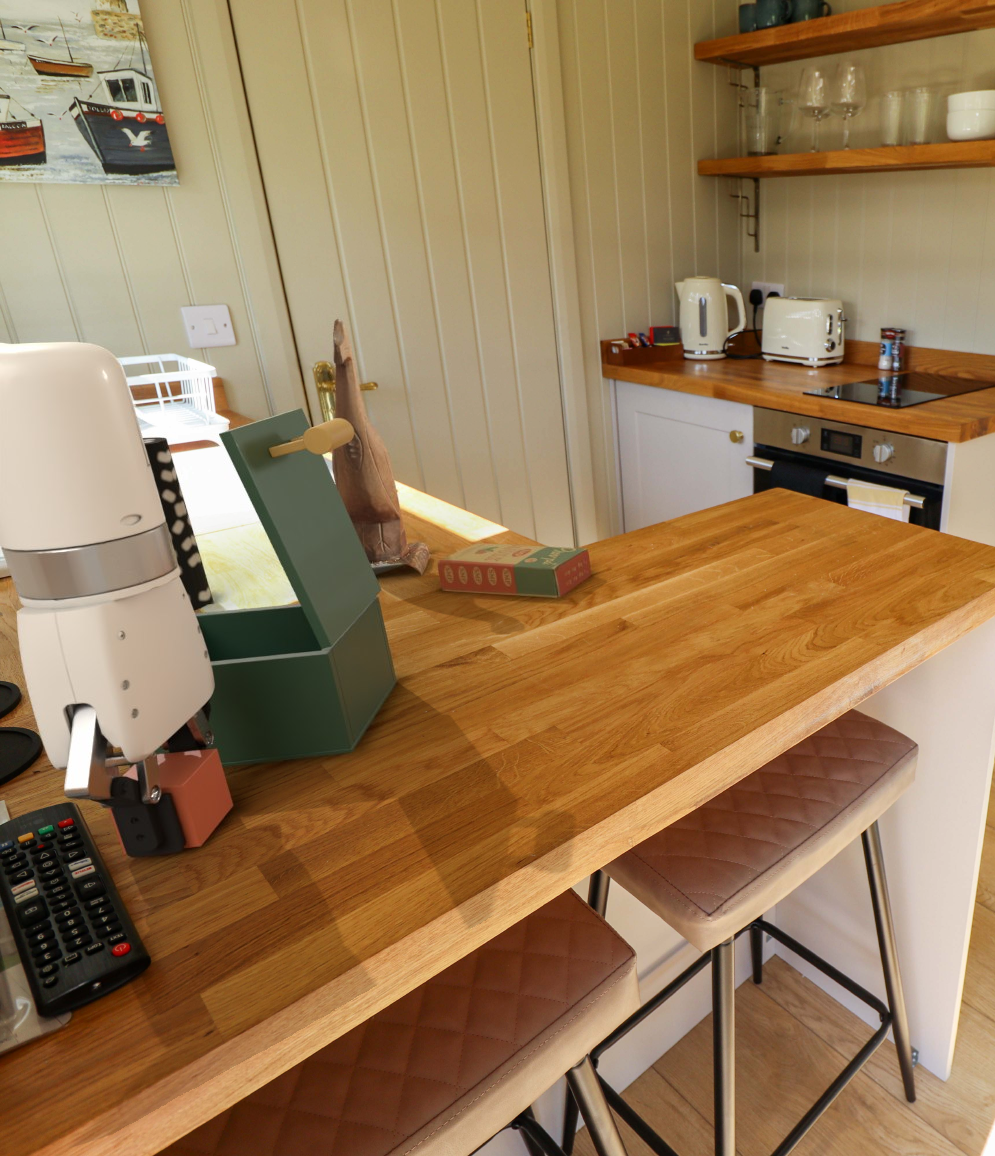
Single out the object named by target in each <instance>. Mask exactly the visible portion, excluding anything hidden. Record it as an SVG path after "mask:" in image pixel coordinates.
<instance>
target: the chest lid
mask: <svg viewBox="0 0 995 1156" xmlns="http://www.w3.org/2000/svg"><path fill="white" fill-rule="evenodd" d="M218 436H219V438H220V440H221V442H222V444H223V446H224V448H225V451H226V452H227V455H228V456H229V458H230V461H231V463H232V465H233V467H234V470H235V471H236V474H237V475H238V477H239V480H240V482H241V484H242V486H243V488H244V490H245V492H246V494H247V496H248V498H249V501H250V502H251V505H252V507H253V509H254V511H255V513H256V515H257V517H258V519H259V522H260V523H261V525H262V528H263V530H264V533H265V534H266V537H267V538H268V540H269V542H270V544H271V547H272V549H273V551H274V553H275V554H276V558H277V559H278V561H279V563H280V566H281V567H282V569H283V571H284V573H285V576H286V578H287V580H288V582H289V584H290V586H291V589H292V591H293V592H294V595H295V596H296V599H297V600H298V604H300V605H301V607H302V609H303V611H304V613H305V615H306V617H307V619H308V622H309V624H310V626H311V628H312V630H313V632H314V634H315V636H316V638H317V640H318V642H319V645H320V647H321V648H322V649H324V648H327V647H331V646H332V645H333V644H334V643H335V642H336V641H337V640H338V639H339V638H340V636H341V635H342V634H343V633H344V632H345V631H346V630H347V628H348V627H349V626H350V625H351V624H352V623H353V622H354V621H355V619H356V618H357V617H358V616H359V615H360V614H361V613H362V612H363V610H364V609H365V608H366V607H367V606H368V605H369V604H370V603H371V601H372V600H373V599H374V598H375V597H378V595H379V594H380V593H381V592H382V587H381V585H380V583H379V581H378V579H377V576H376V574H375V572H374V569H373V566H371V565H370V562H369V560H368V558H367V555H366V553H365V551H364V549H363V546H362V544H361V542H360V539H359V537H358V535H357V533H356V530H355V528H354V526H353V523H352V521H351V519H350V517H349V514H348V512H347V510H346V508H345V505H344V503H343V501H342V498H341V496H340V494H339V492H338V489H337V487H336V485H335V480H334V477H333V476H332V474H331V471H330V469H329V467H328V464H327V462H326V460H325V458H324V455H326V454H328V453H331V451H332V450H334V449H336V448H338V447H340V446H342V445H344V444H346V443H348V442H350V441H351V440H352V439H353V437H354V429H353V426H352V425H351V424H350V423H349V422H348V421H347V420H345V419H342V418H336V419H335V418H332V419H330V420H327V421H325V422H323V423H320V424H317V425H314V426H313V427H311V426H310V423H309V421H308V419H307V416H306V414H305V412H304V410H303V408H302V407H299V408H296V409H292V410H289V411H285V412H282V413H279V414H276V415H273V416H270V417H267V418H262V419H260V420H256V421H254V422H251V423H248V424H244V425H242V426H238V427H234V428H231V429H228V430H225V431H221V432H220V433H219V434H218Z"/></svg>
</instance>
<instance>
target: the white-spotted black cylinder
mask: <svg viewBox="0 0 995 1156" xmlns="http://www.w3.org/2000/svg"><path fill="white" fill-rule="evenodd" d="M143 441H144V444H145V448H146V451H147V455H148V459H149V462H150V466H151V469H152V473H153V476H154V480H155V483H156V487H157V490H158V494H159V498H160V501H161V505H162V508H163V512H164V515H165V520H166V523H167V526H168V530H169V533H170V537H171V540H172V544H173V548H174V551H175V555H176V558H177V562H178V565H179V569H180V575H179V577H180V579H181V581H182V583H183V586H184V588H185V590H186V592H187V595H188V597H189V600H190V602H191V605H192V607H193V610H194V612H195V611H196V610H197V611H198V610H200V609H202V608H204V607H206V606H208V605H214V599H213V594H212V591H211V588H210V584H209V581H208V578H207V574H206V571H205V570H206V569H205V567H204V564H203V560H202V557H201V554H200V550H199V546H198V543H197V540H196V535H195V532H194V529H193V526H192V522H191V519H190V516H189V512H188V508H187V505H186V501H185V497H184V494H183V491H182V487H181V484H180V481H179V477H178V473H177V470H176V466H175V463H174V460H173V457H172V456H173V455H172V453H171V449H170V446H169V441H168V439H167V437H156V436H154V437H143Z"/></svg>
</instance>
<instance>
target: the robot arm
mask: <svg viewBox="0 0 995 1156" xmlns="http://www.w3.org/2000/svg"><path fill="white" fill-rule="evenodd" d="M135 409H136V408H135V405H134V403H133V399H132V395H131V392H130V388H129V385H128V381H127V378H126V375H125V371H124V369H123V366H122V364H121V363H120V361H119V360H118V358H117V357H116V356H115V354H113V353H112V352H111V351H109V350H108V349H107V348H105V347H103V346H100V345H99V344H98V345H97V344H93V343H90V342H82V341H81V342H79V341H59V342H57V341H54V342H53V341H52V342H30V343H29V342H27V343H26V342H25V343H7V342H1V341H0V547H1V548H0V549H1V552H2V554H3V557H4V561H5V563H6V565H7V568H8V571H9V574H10V577H11V580H12V583H13V585H14V588H15V591H16V593H17V597H18V599H19V602H20V604H21V605H22V606H23V607H21V608H20V609H18V610H17V611H16V626H17V627H16V628H17V630H16V631H17V638H18V647H19V648H18V649H19V654H20V661H21V667H22V671H23V676H24V680H25V684H26V688H27V693H28V696H29V700H30V704H31V707H32V712H33V715H34V719H35V722H36V725H37V730H38V732H39V735H40V738H41V742H42V745H43V747H44V750H45V753H46V756H47V758H48V760H49V762H50V764H51V765H52V767H54V769H56V770H58V771H63V770H65V778H64V784H63V785H64V786H63V793H64V796H65V797H66V799H74V800H86V801H87V800H90V801H92V802H95V803H99V804H100V806H101V807H102V808H103V809H107V810H108V808H111V811H112V813H113V816H114V819H115V822H116V825H117V828H118V831H119V834H120V837H121V839H122V842H123V845H124V848H125V851H126V854H127V856H128V857H130V858H134V859H135V858H143V857H151V856H153V857H154V856H162V855H170V854H178V853H180V852H182V851H183V850H184V849H185V848H184V847H185V846H186V839H185V836H184V833H183V830H182V827H181V824H180V820H179V817H178V814H177V811H176V808H175V805H174V801H173V798H172V795H171V793H164V794H162V789H161V782H160V775H159V768H158V761H157V754H156V750H157V749H158V748H159V747H160V746H161V747H162V749H163V750H164V751H169V752H168V753H176V752H187V751H197V750H207V749H206V747H210V746H212V744H213V742H214V733H213V731H212V729H211V727H210V725H209V723H208V722H209V716H210V712H211V707H210V706H211V705H210V699H211V696H212V694H213V691H214V688H215V678H214V676H213V671H212V666H211V662H210V658H209V654H208V651H207V648H206V644H205V641H204V638H203V635H202V632H201V629H200V626H199V623H198V620H197V618H196V615H195V613H196V612H195V611H194V610H193V607H192V605H191V602H190V600H189V597H188V595H187V592H186V590H185V588H184V586H183V583H182V581H181V579H180V577H179V575H180V569H179V565H178V562H177V558H176V555H175V551H174V548H173V544H172V540H171V537H170V533H169V530H168V526H167V523H166V520H165V515H164V512H163V508H162V505H161V501H160V498H159V494H158V490H157V487H156V483H155V480H154V476H153V473H152V469H151V466H150V462H149V459H148V455H147V451H146V448H145V444H144V441H143V438H144V437H143V433H142V430H141V427H140V423H139V420H138V416H137V413H136V410H135ZM113 747H114V748H115V749H118V748H121V751H117V752H114V748H113ZM210 749H213V748H210ZM161 754H166V753H161ZM129 765H136V770H137V777H138V781H137V780H135V779H132V778H129V777H126V776H123V775H121V776H120V770H119V767H127V766H129Z"/></svg>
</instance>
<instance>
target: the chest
mask: <svg viewBox="0 0 995 1156" xmlns="http://www.w3.org/2000/svg"><path fill="white" fill-rule="evenodd" d="M195 615H196V618H197V620H198V623H199V626H200V629H201V632H202V635H203V638H204V641H205V644H206V648H207V651H208V654H209V658H210V662H211V666H212V671H213V676H214V678H215V688H214V691H213V694H212V696H211V699H210V705H211V706H210V707H211V712H210V716H209V722H208V723H209V725H210V727H211V729H212V731H213V733H214V742H213V744H212V746H210V747H206V749H210V748H213V749H217V751H218V754H219V757H220V761H221V764H222V768H227V767H236V766H245V765H254V764H262V763H270V762H271V763H272V762H279V761H280V762H281V761H287V760H297V759H306V758H316V757H323V756H331V755H341V754H348V753H349V754H350V753H353V752H354V751H355V749H356V747H357V745H358V744H359V742H360V741H361V739H363V736H364V734H365V733H366V731H367V730H368V728H369V727H370V725H371V724H372V722H373V720H374V719H375V717H376V716H377V714H378V712H379V711H380V710H381V708H382V706H383V705H384V703H385V702H386V700H387V698H388V697H389V695H390V694H391V692H392V690H394V687H395V686H396V684H397V683H398V680H397V676H396V672H395V667H394V662H393V657H392V654H391V647H390V644H389V638H388V634H387V630H386V625H385V621H384V617H383V611H382V607H381V602H380V598H379V596H376V597H375V598H374V599H373V600H372V601H371V603H370V604H369V605H368V606H367V607H366V608H365V609H364V610H363V612H362V613H361V614H360V615H359V616H358V617H357V618H356V619H355V621H354V622H353V623H352V624H351V625H350V626H349V627H348V628H347V630H346V631H345V632H344V633H343V634H342V635H341V636H340V638H339V639H338V640H337V641H336V642H335V643H334V644H333V645H332V646H331V647H327V648H324V649H322V648H321V647H320V645H319V642H318V640H317V638H316V636H315V634H314V632H313V630H312V628H311V626H310V624H309V622H308V619H307V617H306V615H305V613H304V611H303V609H302V607H301V605H300V603H293V604H292V603H291V604H283V605H281V604H280V605H271V606H261V607H252V608H251V607H249V608H239V609H228V610H217V611H207V612H206V611H205V612H195ZM168 752H169V751H164V750H163V749H162V747H161V746H160V747H159V748H158V749H157V750H156V754H161V753H168ZM128 766H129V769H130V768H131V767H133V766H134V765H128Z"/></svg>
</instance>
